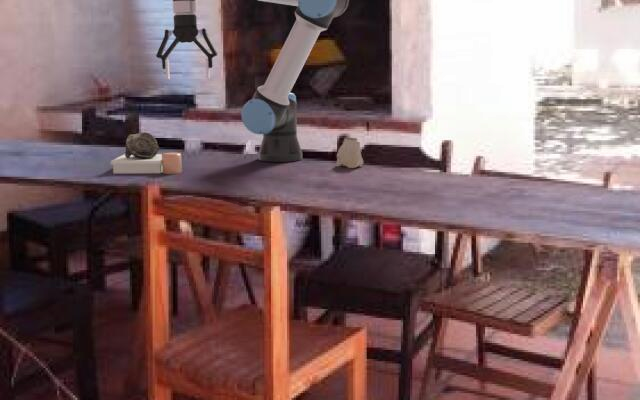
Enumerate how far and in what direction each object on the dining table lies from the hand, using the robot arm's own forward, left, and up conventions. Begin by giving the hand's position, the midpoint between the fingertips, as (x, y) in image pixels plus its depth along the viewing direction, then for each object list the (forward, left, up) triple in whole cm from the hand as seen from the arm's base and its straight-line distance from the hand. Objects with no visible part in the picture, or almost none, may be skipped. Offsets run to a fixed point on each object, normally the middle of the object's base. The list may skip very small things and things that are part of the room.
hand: (188, 78), depth 310 cm
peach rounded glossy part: (+2, +23, -28) cm, 37 cm away
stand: (+13, +17, -28) cm, 35 cm away
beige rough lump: (-54, +13, -29) cm, 63 cm away
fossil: (+13, +18, -25) cm, 33 cm away
